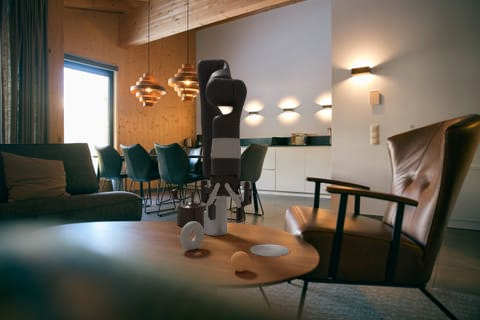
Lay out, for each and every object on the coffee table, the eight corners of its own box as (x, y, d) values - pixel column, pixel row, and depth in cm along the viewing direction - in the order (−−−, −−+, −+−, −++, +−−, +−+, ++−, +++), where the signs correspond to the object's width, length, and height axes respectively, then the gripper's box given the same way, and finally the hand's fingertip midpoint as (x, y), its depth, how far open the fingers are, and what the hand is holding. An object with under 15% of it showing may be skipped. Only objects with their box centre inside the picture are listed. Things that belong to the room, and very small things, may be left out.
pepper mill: (189, 222, 158) (190, 186, 158) (207, 224, 152) (207, 187, 152) (168, 227, 145) (168, 189, 145) (185, 230, 139) (186, 190, 139)
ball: (227, 272, 86) (227, 253, 86) (235, 266, 91) (235, 248, 91) (245, 275, 84) (245, 255, 84) (252, 269, 89) (253, 250, 89)
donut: (184, 253, 103) (184, 224, 103) (177, 251, 106) (177, 222, 106) (206, 247, 111) (206, 220, 111) (199, 245, 113) (199, 218, 113)
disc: (243, 253, 105) (243, 252, 105) (258, 243, 117) (258, 242, 117) (283, 258, 99) (283, 258, 99) (294, 247, 112) (294, 247, 112)
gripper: (194, 156, 79) (193, 221, 78) (246, 156, 73) (245, 226, 73) (209, 157, 85) (208, 216, 85) (257, 156, 79) (257, 220, 79)
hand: (225, 220), depth 79 cm, fingers open, 7 cm apart
